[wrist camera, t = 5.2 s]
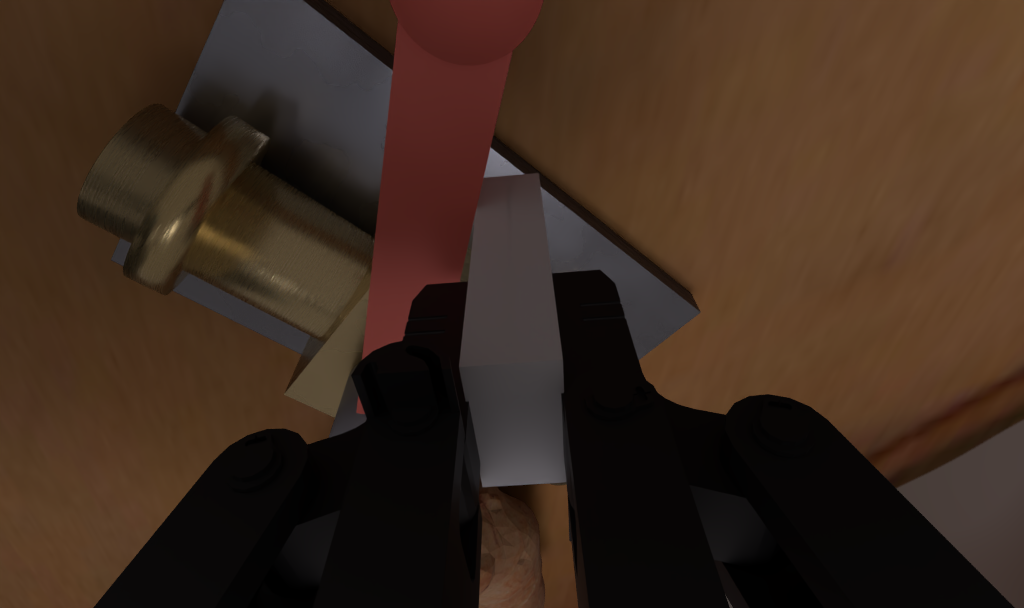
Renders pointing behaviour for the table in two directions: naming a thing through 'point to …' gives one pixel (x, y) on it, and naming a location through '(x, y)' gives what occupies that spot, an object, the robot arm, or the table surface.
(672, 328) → the valve
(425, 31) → the lever
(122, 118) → the table surface
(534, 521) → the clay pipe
